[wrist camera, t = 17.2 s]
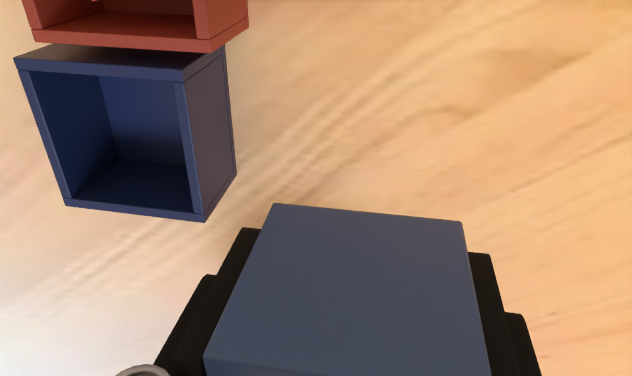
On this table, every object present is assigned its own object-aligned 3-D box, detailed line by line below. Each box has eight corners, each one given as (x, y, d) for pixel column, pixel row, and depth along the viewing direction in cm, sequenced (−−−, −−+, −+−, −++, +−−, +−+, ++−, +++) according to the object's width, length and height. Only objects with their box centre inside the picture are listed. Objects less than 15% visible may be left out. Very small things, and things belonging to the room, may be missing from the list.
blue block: (273, 201, 10) (200, 355, 7) (462, 219, 10) (498, 403, 6) (280, 326, 13) (229, 492, 9) (433, 348, 12) (447, 536, 8)
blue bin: (83, 32, 25) (12, 57, 21) (224, 41, 24) (181, 69, 20) (117, 162, 30) (65, 206, 25) (236, 175, 29) (204, 223, 24)
